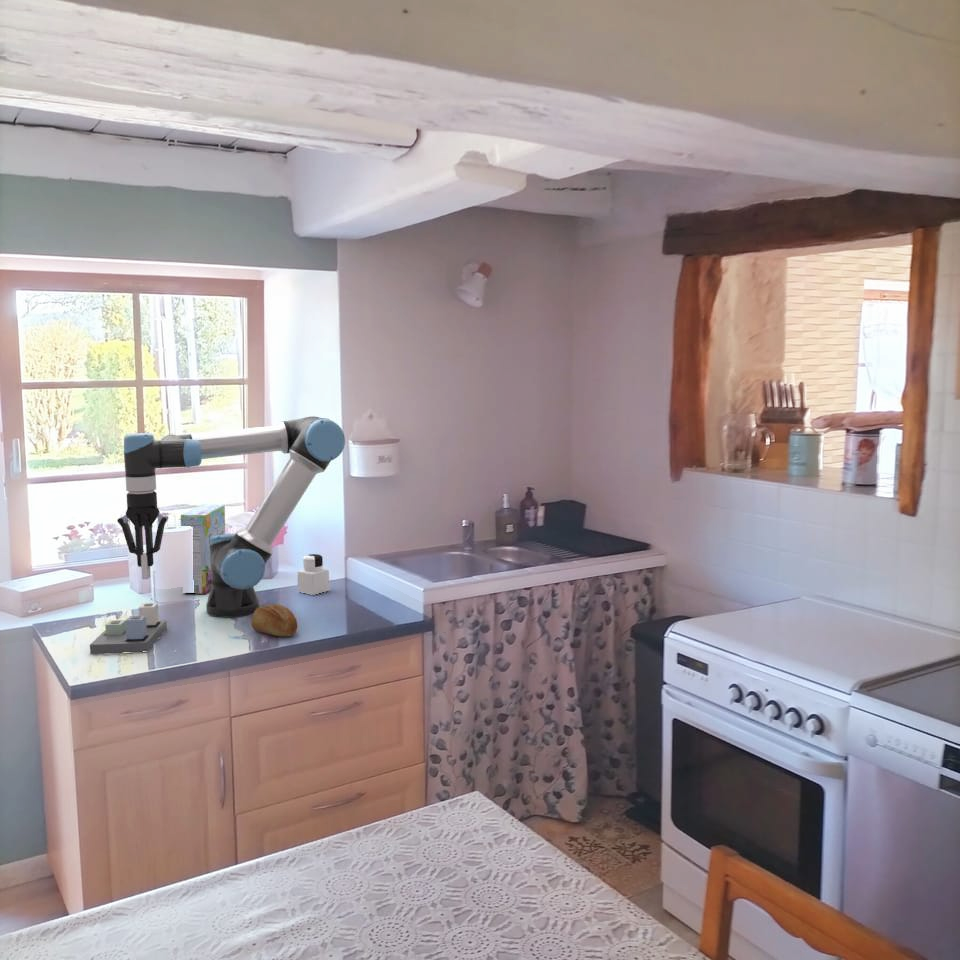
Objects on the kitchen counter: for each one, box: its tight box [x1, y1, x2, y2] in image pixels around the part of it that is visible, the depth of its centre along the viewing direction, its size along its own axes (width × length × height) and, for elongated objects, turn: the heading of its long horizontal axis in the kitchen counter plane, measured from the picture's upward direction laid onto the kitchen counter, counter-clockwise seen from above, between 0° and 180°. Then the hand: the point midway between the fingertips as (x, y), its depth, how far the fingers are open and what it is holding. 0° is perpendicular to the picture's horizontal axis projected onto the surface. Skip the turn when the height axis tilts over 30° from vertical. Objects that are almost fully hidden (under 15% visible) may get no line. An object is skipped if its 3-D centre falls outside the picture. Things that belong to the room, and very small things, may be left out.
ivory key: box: [138, 602, 160, 625], centre depth 245 cm, size 4×4×5 cm
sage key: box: [104, 619, 126, 635], centre depth 239 cm, size 4×4×5 cm
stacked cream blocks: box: [297, 553, 330, 596], centre depth 288 cm, size 7×7×12 cm
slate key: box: [124, 615, 147, 639], centre depth 233 cm, size 4×4×5 cm
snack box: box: [180, 504, 226, 595], centre depth 295 cm, size 22×9×26 cm, turn 179°
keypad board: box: [89, 619, 168, 655], centre depth 240 cm, size 14×20×2 cm
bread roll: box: [250, 603, 299, 637], centre depth 246 cm, size 10×15×8 cm, turn 55°
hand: (146, 577), depth 244 cm, fingers closed
